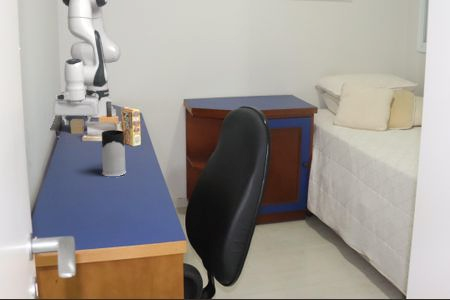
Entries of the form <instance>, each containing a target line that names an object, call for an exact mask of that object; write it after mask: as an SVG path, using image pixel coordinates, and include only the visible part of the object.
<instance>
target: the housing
mask: <svg viewBox="0 0 450 300" xmlns="http://www.w3.org/2000/svg"><path fill="white" fill-rule="evenodd" d="M69 122H70V123H69V124H70V134H73V135H74V134H78V135H79V134H80V135H81V134H84V132H85V119H84V118H72V119H71V120H70V121H69Z"/></svg>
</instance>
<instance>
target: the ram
mask: <svg viewBox="0 0 450 300" xmlns="http://www.w3.org/2000/svg"><path fill="white" fill-rule="evenodd" d="M111 102H112V100H111V101H107V102H106V113H107V116H101V117H99V118H98V122H116V129H117V124H118V123H119V122H120V120H119V116H118V115H116V116H112V107H111Z"/></svg>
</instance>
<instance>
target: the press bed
mask: <svg viewBox="0 0 450 300" xmlns="http://www.w3.org/2000/svg"><path fill="white" fill-rule="evenodd" d="M86 127H87V128H86V129H87V131H86V133H84V135H83V136H82V137H81V141H82V142H102V132H104V131H108V130H119V131H122V125H121V121H119V123H118V124H117V129H116V122H99V121H89V122H88V123H87V125H86Z"/></svg>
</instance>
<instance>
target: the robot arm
mask: <svg viewBox="0 0 450 300" xmlns="http://www.w3.org/2000/svg"><path fill="white" fill-rule="evenodd" d="M61 1H62V3H63V4H64V5H65V6H67V7H68V8H67V28H68V30H69V33H70V34H72V36H73V37H75V38H77V39H79V40H82V41H78V42H74V43H73V44H72V45H71V47H70V50H69V52H70V56H71V58H70V59H68V60H66V61H65V63H64V73H63V75H64V81H65V88H64V89H65V91H63V92H60V93H57V94H56V95H55V96H54V99H55V100H54V103H53V114H54V115H55V116H61V118H62V119H61V120H63V121H64V125H65V126H69V125H70V123H69V122H70V121H69V120H68V119H67V116H70V117H71V116H72V117H73V116H75V117H76V116H79V117H80V116H83V117H86V116H87V120H84V126H87V123H88V122H91V119H92V118H93V119H94V118H98V119H99V118H100V117H101V116H107V113H106V102H107V101H111V107H112V116H117V110H116V108H114V106H112V105H113V104H112V99H111V97H110V90H109V87H108V86H109V84H108V83H109V82H108V81H109V73H108V69H107V65H106V64H111V63H116V62H118V61H119V60H120V58H121V54H122V53H121V48H120V46H119V45H118V44H117V43H116V42H115V41H113V40H112V39H111V38H110V37H109V35H108V33H107V32H106V28H105V21H104V15H103V9H102V7H104V6H106V5H107V3H108V0H61Z"/></svg>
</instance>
